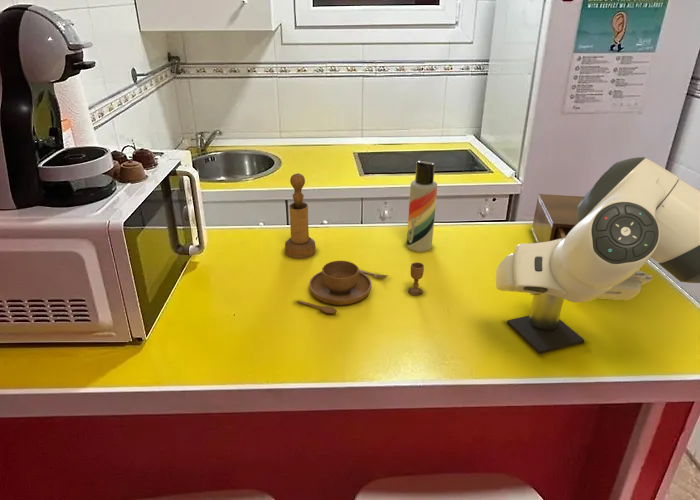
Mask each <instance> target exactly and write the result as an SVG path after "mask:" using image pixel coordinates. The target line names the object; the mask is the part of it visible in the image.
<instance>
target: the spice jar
mask: <svg viewBox="0 0 700 500" xmlns="http://www.w3.org/2000/svg"><path fill="white" fill-rule="evenodd" d="M564 300H565V299H563V298H561V297H556V296H553V295H549V294H540V295H532V301H531V305H530V310H529V315H528V316H529V322H530V323H531V324H532V325H533V326H534V327H536V328H539V329H543V330H552V329H555V328H556V327H557V326H558V321H559V319H560V318H561V317H560V316H561V313H562V308H563V304H564Z"/></svg>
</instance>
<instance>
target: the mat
mask: <svg viewBox="0 0 700 500" xmlns="http://www.w3.org/2000/svg"><path fill="white" fill-rule="evenodd" d="M506 324H507V325H508V326H509V327H510V328H511V329H512V330H513V331H514V332H515V333H516V334H517V335H519V337H521V338H522V339H523V340H524V341H525V342H526V343H527V344H528V345H529V346H530V347H531V348H532V349H533V350H534V351H535V352H537V353H538V354H539V355H540V354H545V353H548V352H553V351H556V350H559V349H564V348H568V347H573V346H577V345H580V344H584V343H585V339H584V337H582V336H580V335H579V334H578V332H575V330H573V329H572V328H571V327H569V326H568V325H567V324H566V323H564V322H563V321H562V320H561V319H560V318H559V321H558V326H557V327H556V328H555V329H552V330H543V329H539V328H536V327H534V326H533V325H532V324H531V323H530V322H529V315H525V316H521V317H516V318H512V319H507V320H506Z"/></svg>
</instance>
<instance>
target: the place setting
mask: <svg viewBox="0 0 700 500" xmlns="http://www.w3.org/2000/svg"><path fill="white" fill-rule="evenodd" d="M424 269H425V265H424V263H423V262H422V263H421V262H411V264H410V277H411V278H412V279H413V284H412V286H413V287H410V288H408V289H407V293H408V294H409V295H410V296H414V297H419V296H421V295H423V293H424V291H423V289H421V288H420V287H419V280H421V279H422V278H423V276H424V271H425V270H424ZM368 275H371V276H372V277H373V278H375V279H381V278H388V277H389V275H388V274H375V273H373V272H369V271H365V270H361V269H359V266H358V265H357V264H356V263H354V262H351V261H349V260H333V261H329V262H328V263H326V264H324V265H323V266H322V268H321V271H319V272H316V273H315V274H314V275H312V277H311V278H310V280H309V283H308V285H309V291H310V292H311V294H312V295H313V297H315V299H317V300H319V301H321V302H323V303H326V304H329V305H335V306H346V305H352V304H355V303H358V302H360V301H362V300H364V299H365V298H366V297H367V296H368V295H369V294H370V292H371V290H372V280H371V278H370V277H369V276H368ZM296 303H299V304H301V305H306V306H311V307H314V308H318V309H319V310H320V311H322V312H323V313H326V314H335V313H337V312H338V310H337V308H335V307H333V306H327V305H326V306H324V305H323V306H321V305H317V304H314V303H312V302H307V301H302V300H297V301H296Z"/></svg>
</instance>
